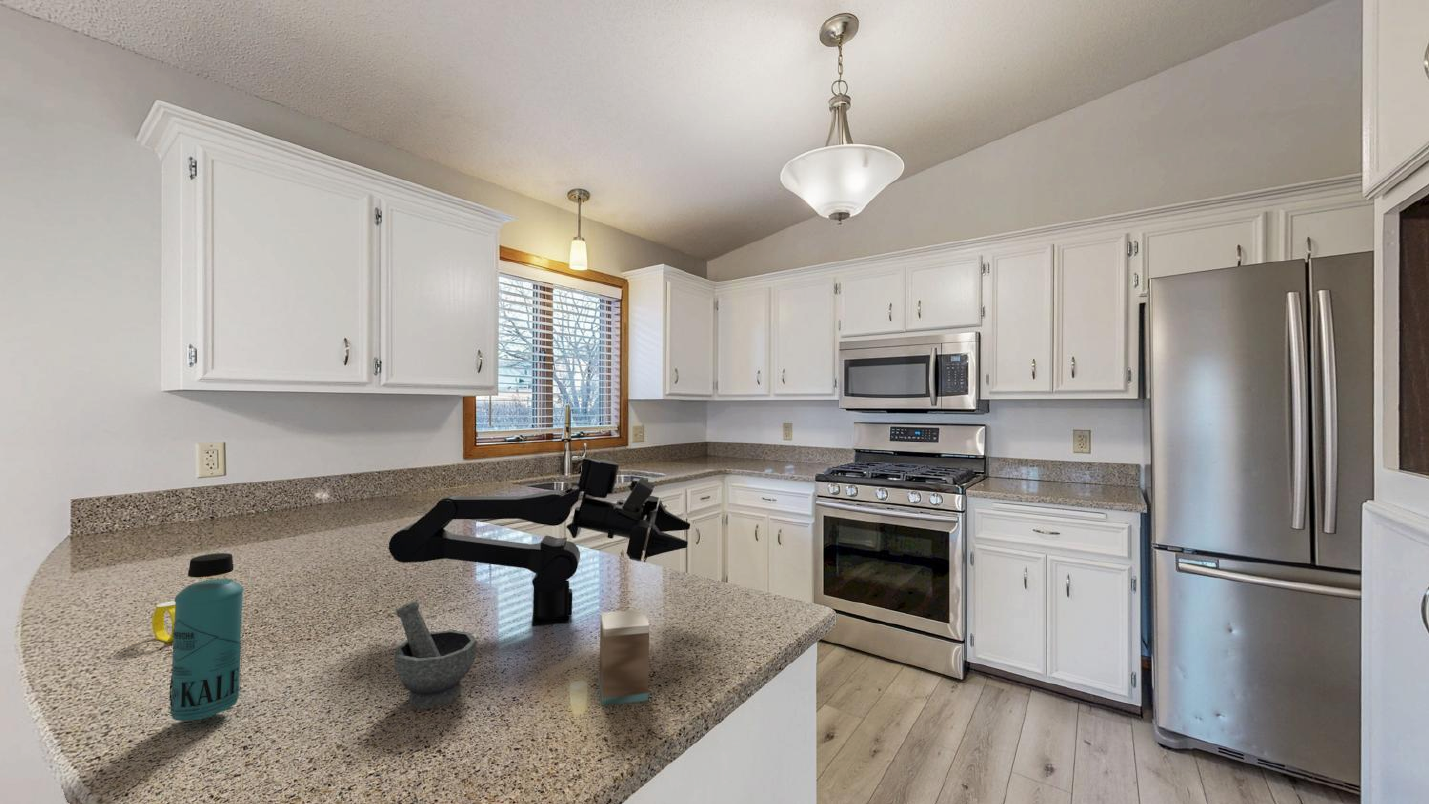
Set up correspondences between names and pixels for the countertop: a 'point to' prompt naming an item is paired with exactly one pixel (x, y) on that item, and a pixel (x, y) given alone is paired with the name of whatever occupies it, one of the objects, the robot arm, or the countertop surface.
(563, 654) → the countertop surface
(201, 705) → the beverage bottle
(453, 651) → the mortar and pestle
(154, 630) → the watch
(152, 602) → the countertop surface
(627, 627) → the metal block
